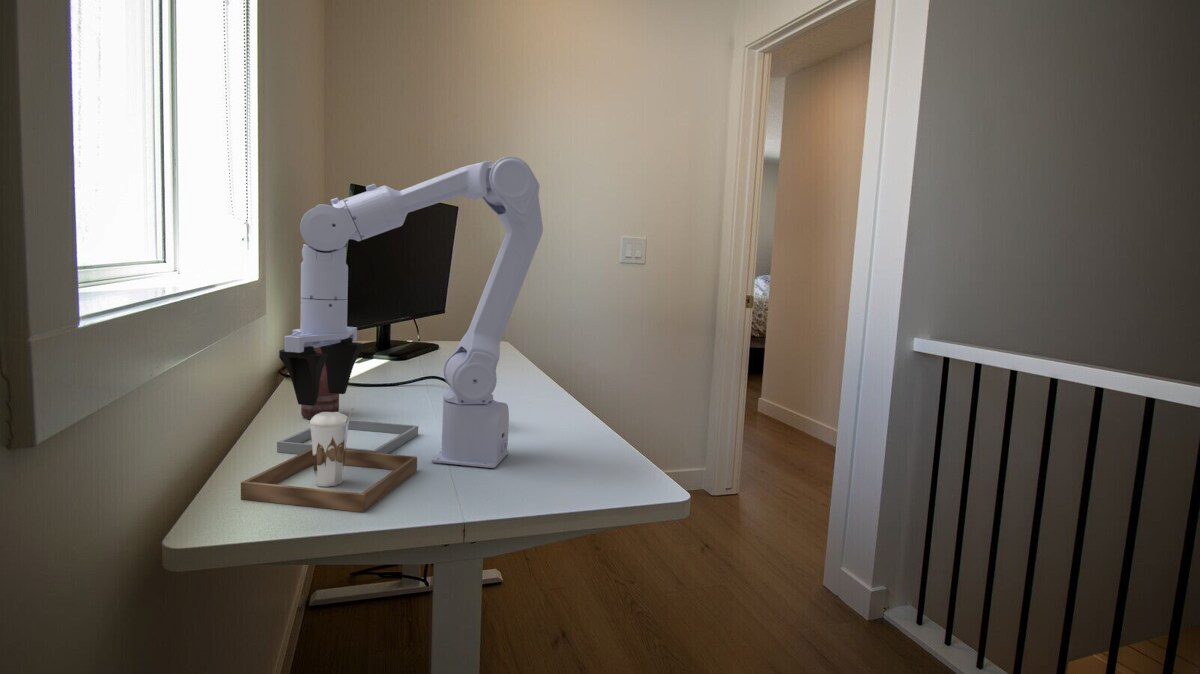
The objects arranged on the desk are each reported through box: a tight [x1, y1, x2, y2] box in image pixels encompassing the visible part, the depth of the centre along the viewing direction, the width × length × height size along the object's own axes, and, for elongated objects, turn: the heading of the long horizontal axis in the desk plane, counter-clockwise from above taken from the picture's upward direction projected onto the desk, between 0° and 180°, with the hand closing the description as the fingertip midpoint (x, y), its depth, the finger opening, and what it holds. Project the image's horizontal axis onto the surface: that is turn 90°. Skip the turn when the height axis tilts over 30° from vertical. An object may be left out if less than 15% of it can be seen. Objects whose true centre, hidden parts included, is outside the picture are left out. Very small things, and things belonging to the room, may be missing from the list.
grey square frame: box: [276, 419, 419, 455], centre depth 96 cm, size 15×15×2 cm
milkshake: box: [309, 407, 354, 488], centre depth 78 cm, size 4×5×10 cm
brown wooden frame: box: [240, 448, 418, 513], centre depth 78 cm, size 15×15×2 cm
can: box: [300, 347, 340, 421], centre depth 109 cm, size 6×6×14 cm
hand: (322, 398), depth 83 cm, fingers open, 7 cm apart
